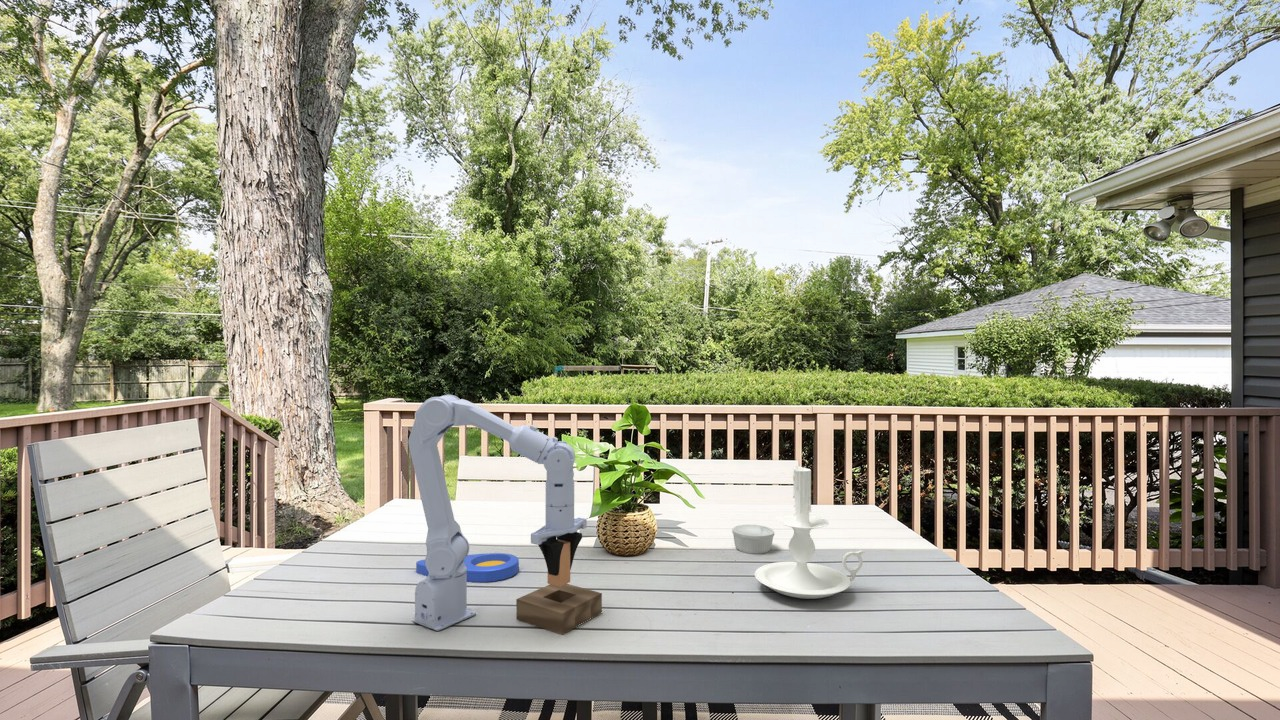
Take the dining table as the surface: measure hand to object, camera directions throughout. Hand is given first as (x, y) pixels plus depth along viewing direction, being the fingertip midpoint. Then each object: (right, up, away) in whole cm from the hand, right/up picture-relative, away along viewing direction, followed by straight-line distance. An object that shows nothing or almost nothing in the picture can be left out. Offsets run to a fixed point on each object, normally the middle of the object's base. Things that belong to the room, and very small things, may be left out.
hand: (559, 571), depth 122 cm
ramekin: (+47, -9, +44) cm, 65 cm away
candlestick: (+54, -9, +14) cm, 57 cm away
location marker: (-26, -10, +25) cm, 37 cm away
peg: (0, -2, 0) cm, 2 cm away
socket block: (0, -9, 0) cm, 9 cm away
